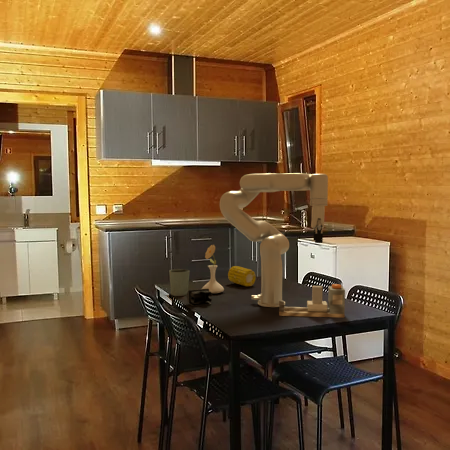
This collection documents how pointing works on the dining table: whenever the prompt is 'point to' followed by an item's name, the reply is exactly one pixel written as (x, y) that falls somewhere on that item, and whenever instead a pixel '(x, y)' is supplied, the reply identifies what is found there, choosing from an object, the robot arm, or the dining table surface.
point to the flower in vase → (212, 273)
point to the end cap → (199, 297)
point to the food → (241, 276)
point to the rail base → (334, 310)
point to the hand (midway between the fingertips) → (317, 241)
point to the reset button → (336, 286)
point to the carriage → (317, 300)
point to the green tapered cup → (179, 282)
